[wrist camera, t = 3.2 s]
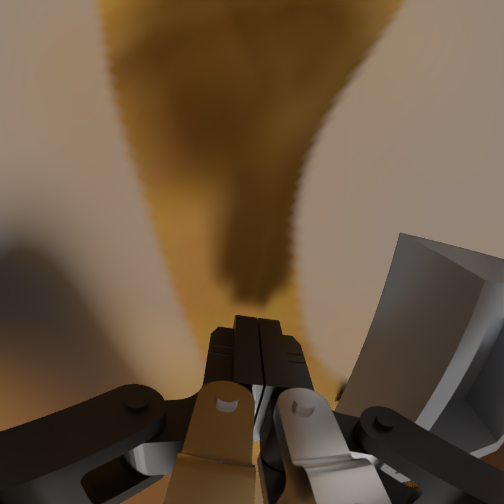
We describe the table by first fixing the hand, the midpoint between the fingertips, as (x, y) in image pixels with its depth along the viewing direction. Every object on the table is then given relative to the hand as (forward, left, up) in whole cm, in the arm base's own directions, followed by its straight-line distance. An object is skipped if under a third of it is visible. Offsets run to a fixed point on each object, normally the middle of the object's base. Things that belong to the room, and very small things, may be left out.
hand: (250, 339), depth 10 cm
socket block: (-9, 0, -1) cm, 10 cm away
